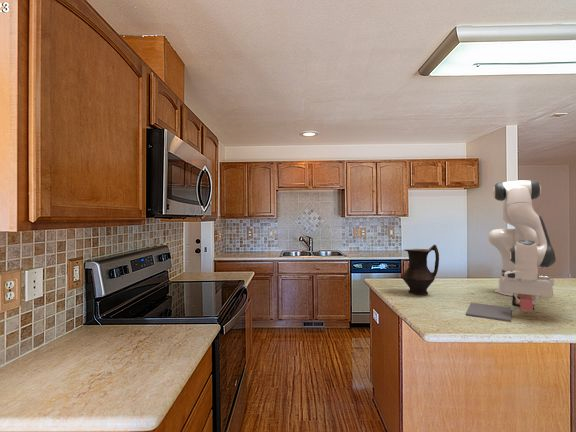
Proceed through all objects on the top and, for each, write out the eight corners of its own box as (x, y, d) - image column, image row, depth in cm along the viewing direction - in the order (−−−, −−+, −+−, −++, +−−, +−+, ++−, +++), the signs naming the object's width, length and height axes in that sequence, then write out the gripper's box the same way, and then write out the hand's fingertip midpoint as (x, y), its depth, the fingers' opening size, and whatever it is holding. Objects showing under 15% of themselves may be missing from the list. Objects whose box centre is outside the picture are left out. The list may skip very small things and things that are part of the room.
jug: (400, 295, 201) (400, 245, 201) (402, 289, 218) (402, 242, 218) (439, 299, 193) (439, 246, 193) (438, 292, 210) (438, 243, 210)
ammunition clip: (534, 310, 171) (534, 286, 171) (531, 310, 171) (531, 286, 171) (514, 304, 181) (514, 282, 181) (511, 304, 181) (511, 282, 181)
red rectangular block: (520, 305, 166) (520, 295, 166) (531, 307, 164) (531, 296, 164) (520, 309, 159) (520, 299, 159) (532, 311, 157) (532, 300, 157)
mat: (470, 303, 183) (470, 302, 183) (511, 309, 173) (511, 307, 173) (465, 315, 163) (465, 313, 163) (510, 321, 153) (510, 320, 153)
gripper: (553, 275, 158) (553, 305, 158) (501, 271, 169) (501, 299, 170) (554, 278, 153) (554, 308, 153) (500, 273, 164) (500, 302, 164)
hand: (526, 303), depth 161 cm, fingers closed on red rectangular block, 4 cm apart
